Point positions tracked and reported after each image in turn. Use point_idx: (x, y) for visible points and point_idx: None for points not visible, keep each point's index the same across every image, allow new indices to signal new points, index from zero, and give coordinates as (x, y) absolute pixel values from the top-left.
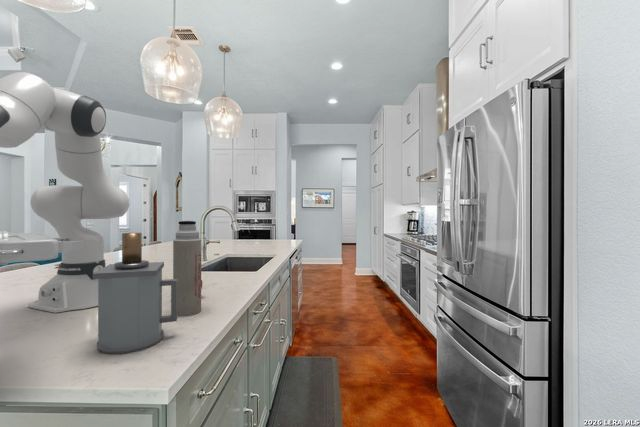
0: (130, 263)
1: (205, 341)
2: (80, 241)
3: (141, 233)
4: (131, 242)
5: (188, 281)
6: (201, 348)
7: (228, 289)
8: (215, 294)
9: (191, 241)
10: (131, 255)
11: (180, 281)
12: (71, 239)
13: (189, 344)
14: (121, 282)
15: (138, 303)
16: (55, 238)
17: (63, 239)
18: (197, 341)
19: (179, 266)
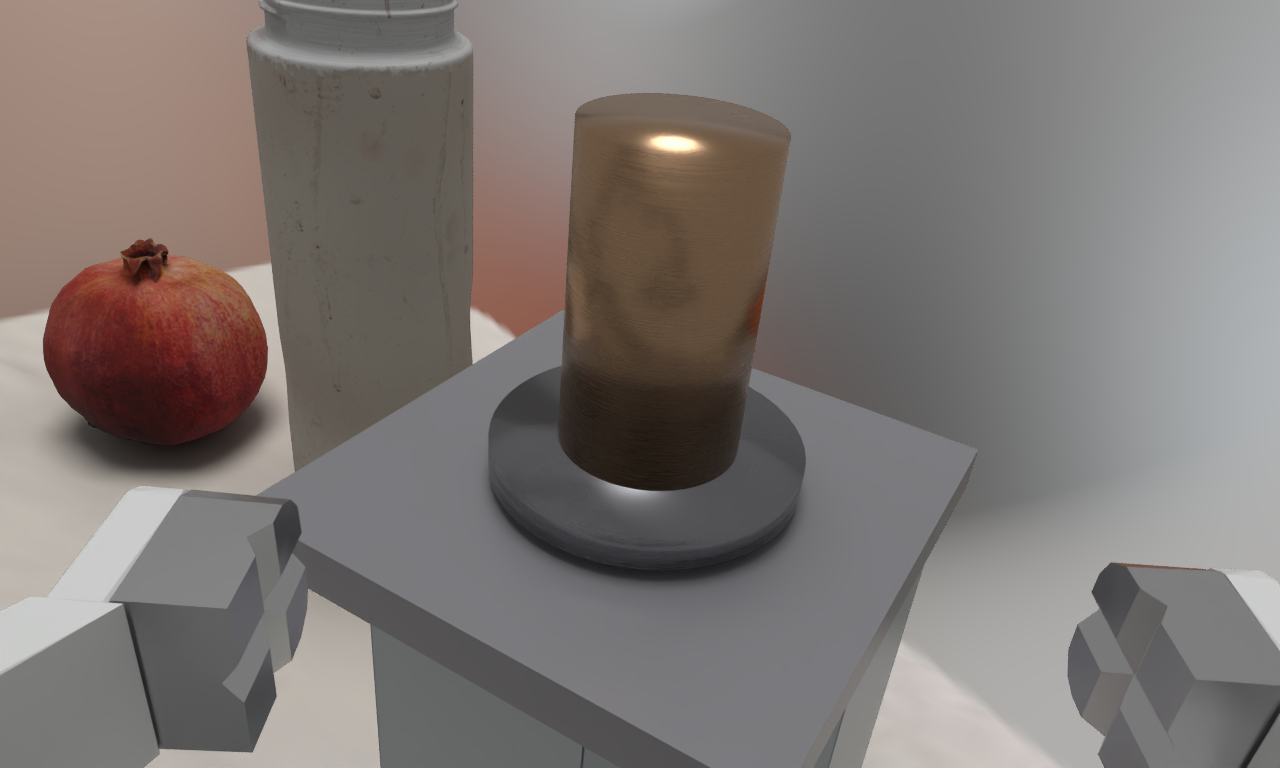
0: (728, 461)
1: (920, 676)
2: (1278, 596)
3: (729, 106)
4: (768, 247)
5: (458, 356)
6: (1003, 730)
7: (262, 282)
8: (266, 336)
9: (466, 61)
10: (747, 383)
11: (415, 372)
12: (292, 513)
13: (908, 739)
14: (867, 687)
15: (869, 738)
16: (3, 684)
17: (246, 609)
18: (893, 697)
19: (405, 273)
